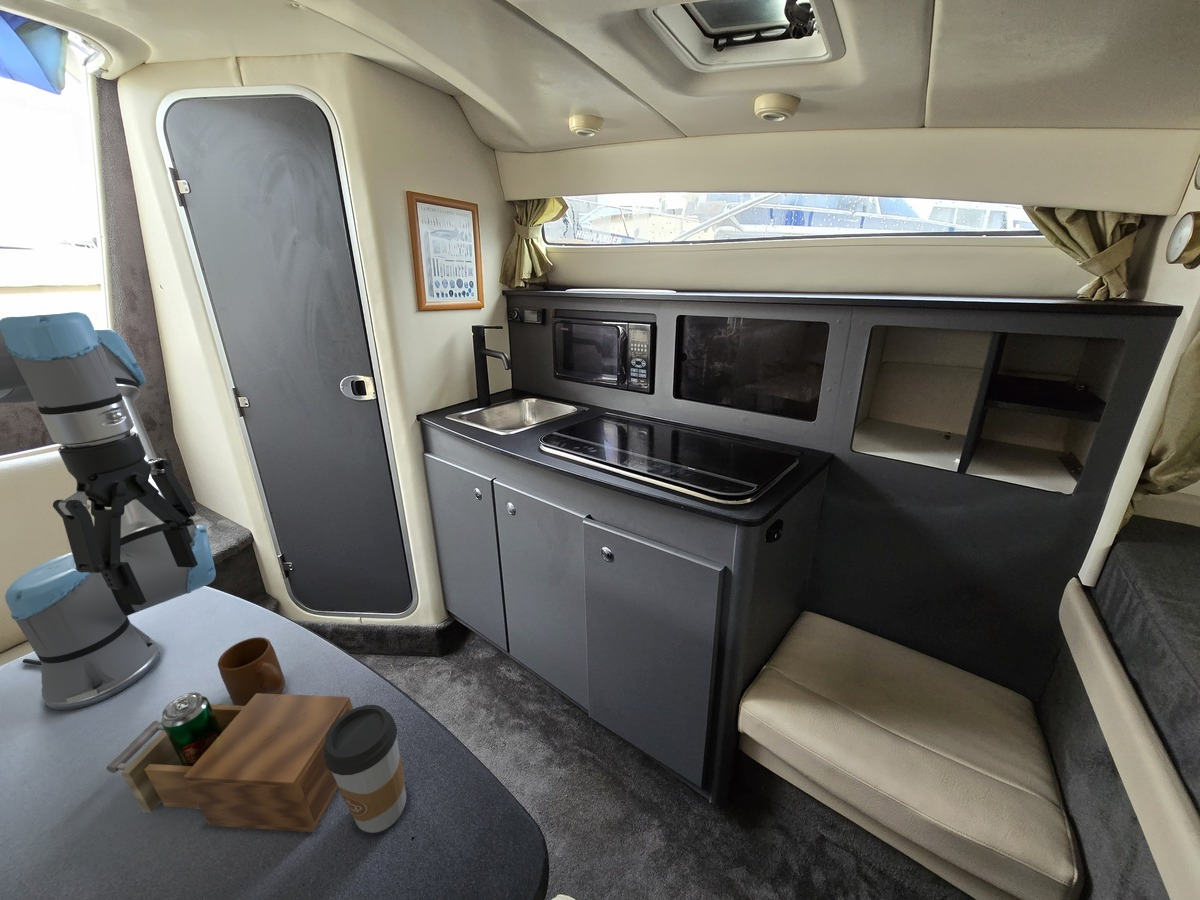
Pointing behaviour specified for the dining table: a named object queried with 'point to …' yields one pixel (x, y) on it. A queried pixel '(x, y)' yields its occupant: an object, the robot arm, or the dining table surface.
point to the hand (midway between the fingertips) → (162, 583)
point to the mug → (251, 670)
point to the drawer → (162, 766)
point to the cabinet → (270, 765)
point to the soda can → (190, 726)
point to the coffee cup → (367, 766)
